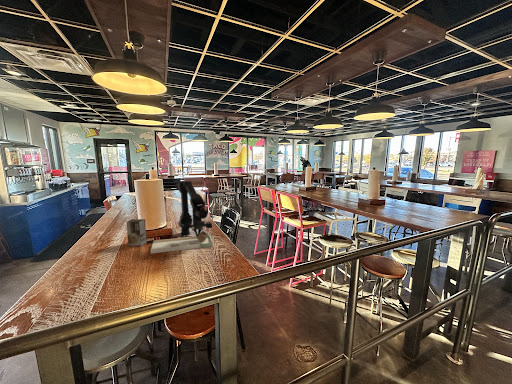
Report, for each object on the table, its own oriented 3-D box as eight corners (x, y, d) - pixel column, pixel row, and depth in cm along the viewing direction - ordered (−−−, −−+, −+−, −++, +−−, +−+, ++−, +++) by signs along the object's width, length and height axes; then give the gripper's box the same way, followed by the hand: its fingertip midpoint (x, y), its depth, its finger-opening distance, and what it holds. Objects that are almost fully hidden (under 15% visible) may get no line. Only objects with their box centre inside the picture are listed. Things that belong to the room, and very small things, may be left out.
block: (199, 236, 140) (202, 230, 139) (205, 239, 140) (208, 234, 139) (196, 238, 136) (199, 233, 135) (202, 242, 135) (205, 236, 134)
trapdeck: (153, 245, 135) (153, 240, 134) (210, 239, 146) (210, 234, 146) (150, 253, 124) (150, 247, 123) (212, 246, 135) (212, 240, 134)
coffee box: (147, 242, 141) (145, 219, 139) (141, 246, 135) (139, 221, 132) (134, 241, 142) (132, 218, 140) (127, 245, 135) (125, 221, 133)
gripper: (181, 219, 127) (182, 244, 129) (212, 217, 133) (213, 240, 135) (182, 215, 138) (183, 238, 140) (210, 213, 143) (211, 235, 146)
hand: (197, 238), depth 140 cm, fingers closed
